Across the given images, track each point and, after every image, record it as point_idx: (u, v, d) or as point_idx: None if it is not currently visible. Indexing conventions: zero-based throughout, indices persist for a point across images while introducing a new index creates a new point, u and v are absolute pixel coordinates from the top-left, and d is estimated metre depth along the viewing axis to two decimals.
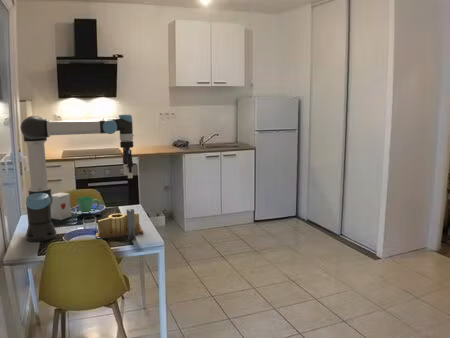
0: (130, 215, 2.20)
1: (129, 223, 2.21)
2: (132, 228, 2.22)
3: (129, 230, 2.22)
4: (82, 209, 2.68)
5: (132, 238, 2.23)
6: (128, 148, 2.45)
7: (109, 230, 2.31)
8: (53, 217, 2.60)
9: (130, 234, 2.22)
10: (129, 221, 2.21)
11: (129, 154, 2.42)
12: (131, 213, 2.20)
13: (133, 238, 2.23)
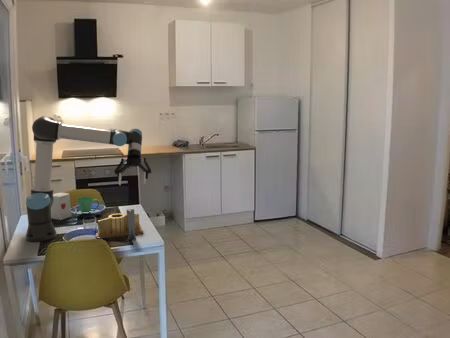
0: (130, 215, 2.20)
1: (129, 223, 2.21)
2: (132, 228, 2.22)
3: (129, 230, 2.22)
4: (82, 209, 2.68)
5: (132, 238, 2.23)
6: (140, 158, 2.40)
7: (109, 230, 2.31)
8: (53, 217, 2.60)
9: (130, 234, 2.22)
10: (129, 221, 2.21)
11: None
12: (131, 213, 2.20)
13: (133, 238, 2.23)
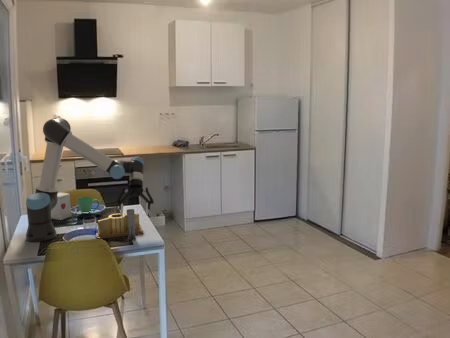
0: (130, 215, 2.20)
1: (129, 223, 2.21)
2: (132, 228, 2.22)
3: (129, 230, 2.22)
4: (82, 209, 2.68)
5: (132, 238, 2.23)
6: (142, 188, 2.37)
7: (109, 230, 2.31)
8: (53, 217, 2.60)
9: (130, 234, 2.22)
10: (129, 221, 2.21)
11: (148, 192, 2.35)
12: (131, 213, 2.20)
13: (133, 238, 2.23)
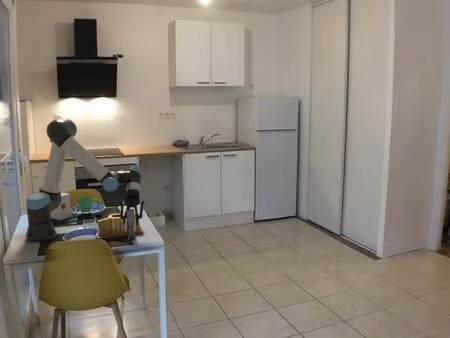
0: (130, 215, 2.20)
1: (129, 223, 2.21)
2: (132, 228, 2.22)
3: (129, 230, 2.22)
4: (82, 209, 2.68)
5: (132, 238, 2.23)
6: None
7: (109, 230, 2.31)
8: (53, 217, 2.60)
9: (130, 234, 2.22)
10: (129, 221, 2.21)
11: None
12: (131, 213, 2.20)
13: (133, 238, 2.23)
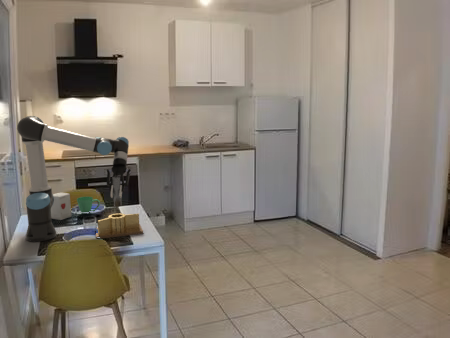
0: (116, 182, 2.27)
1: (115, 190, 2.28)
2: (118, 195, 2.29)
3: (115, 197, 2.29)
4: (82, 209, 2.68)
5: (118, 204, 2.30)
6: None
7: (109, 230, 2.31)
8: (53, 217, 2.60)
9: (116, 200, 2.29)
10: (115, 188, 2.28)
11: (129, 174, 2.35)
12: (117, 180, 2.27)
13: (119, 205, 2.30)
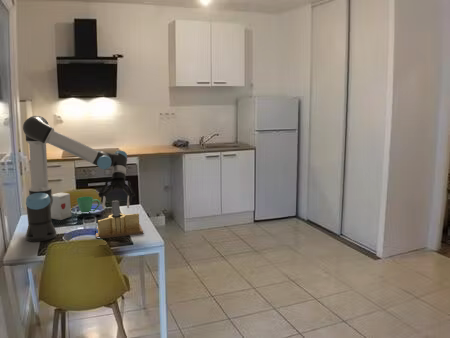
0: (115, 205, 2.32)
1: (114, 214, 2.32)
2: None
3: None
4: (82, 209, 2.68)
5: None
6: None
7: (109, 230, 2.31)
8: (53, 217, 2.60)
9: None
10: (114, 212, 2.32)
11: (130, 185, 2.39)
12: (116, 204, 2.32)
13: None
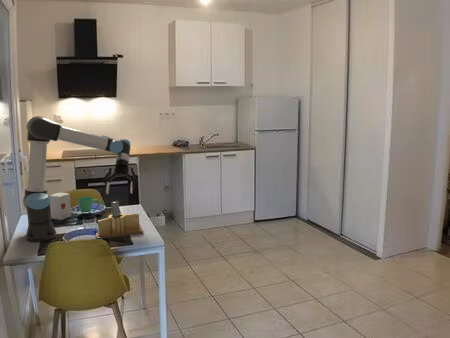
0: (115, 207, 2.30)
1: (114, 214, 2.31)
2: None
3: None
4: (82, 209, 2.68)
5: None
6: None
7: (109, 230, 2.31)
8: (53, 217, 2.60)
9: None
10: (114, 213, 2.31)
11: (133, 172, 2.49)
12: (116, 205, 2.30)
13: None
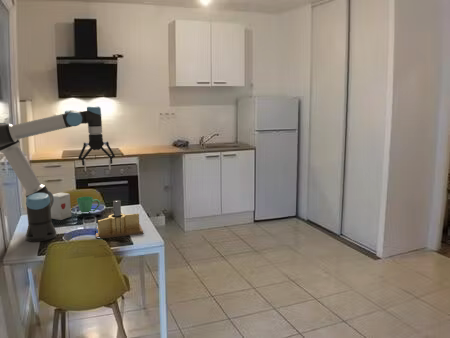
0: (117, 205, 2.32)
1: (115, 213, 2.33)
2: None
3: None
4: (82, 209, 2.68)
5: None
6: (102, 140, 2.42)
7: (109, 230, 2.31)
8: (53, 217, 2.60)
9: None
10: (115, 211, 2.32)
11: None
12: (118, 204, 2.32)
13: None
